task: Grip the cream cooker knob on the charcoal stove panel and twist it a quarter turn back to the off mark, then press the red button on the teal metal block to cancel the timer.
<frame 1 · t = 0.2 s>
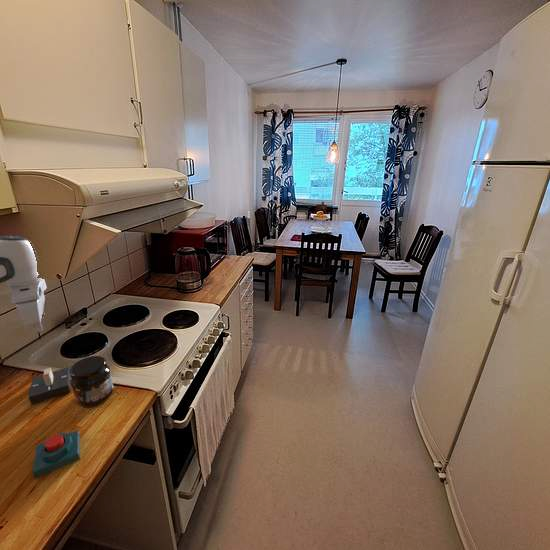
hand: (40, 324, 95), 19 cm above the worktop, tool pointing down, fingers open, 8 cm apart
timer button: (54, 443, 71), point 4 cm above the worktop, slide at 0.1 cm
supplement container: (96, 395, 92), on the worktop
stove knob: (48, 376, 92), point 5 cm above the worktop, hinge at -90.0°
timer block: (59, 455, 73), on the worktop
stove panel: (52, 388, 94), on the worktop
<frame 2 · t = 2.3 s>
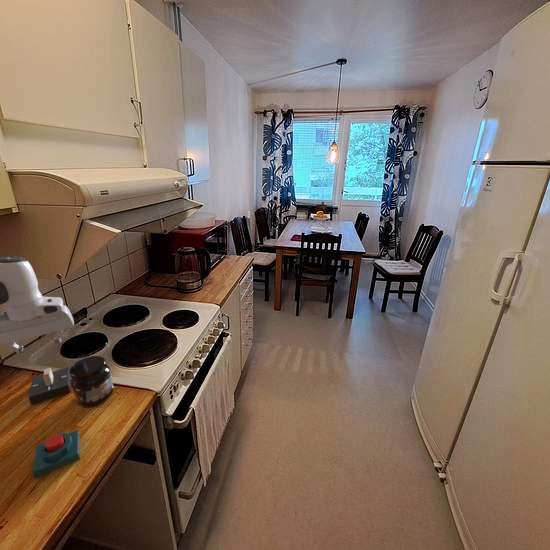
hand: (40, 347, 90), 15 cm above the worktop, tool pointing down, fingers open, 8 cm apart
nothing on the worktop moved.
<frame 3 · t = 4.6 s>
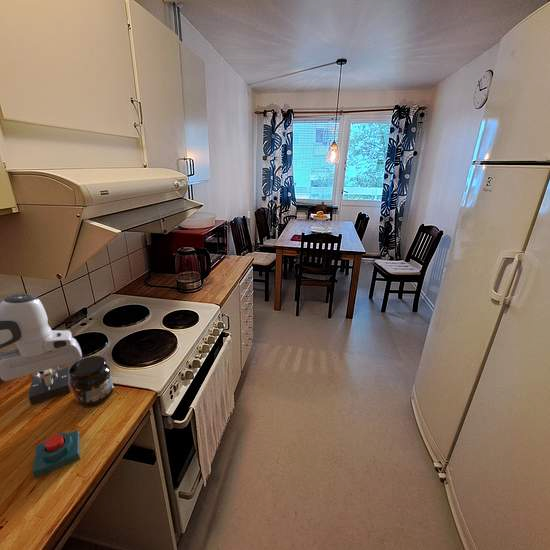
hand: (49, 379, 93), 4 cm above the worktop, tool pointing down, fingers closed on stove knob, 2 cm apart
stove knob: (48, 376, 92), point 5 cm above the worktop, hinge at -90.0°, touching gripper
everything else where it was.
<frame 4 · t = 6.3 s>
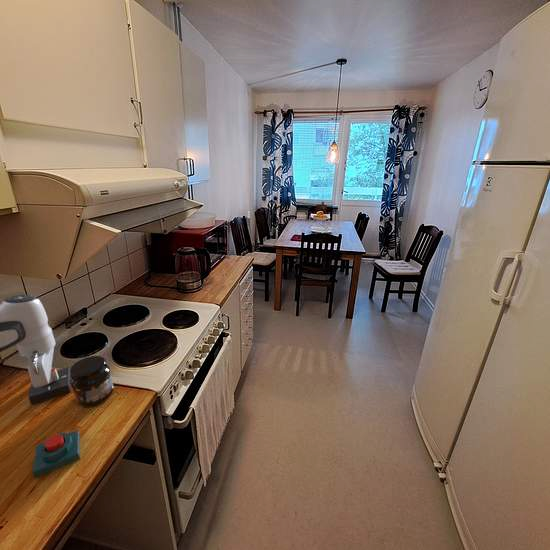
hand: (49, 379, 93), 4 cm above the worktop, tool pointing down, fingers closed on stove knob, 2 cm apart
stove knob: (48, 376, 92), point 5 cm above the worktop, hinge at -0.4°, touching gripper
everything else where it was.
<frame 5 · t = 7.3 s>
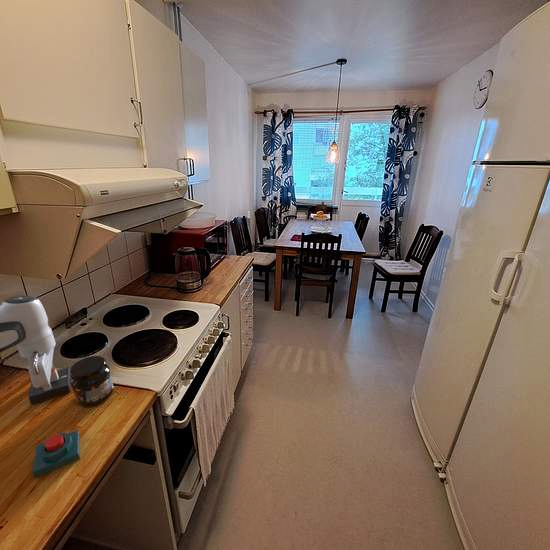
hand: (49, 379, 93), 4 cm above the worktop, tool pointing down, fingers open, 8 cm apart
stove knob: (48, 376, 92), point 5 cm above the worktop, hinge at -0.4°
everything else where it was.
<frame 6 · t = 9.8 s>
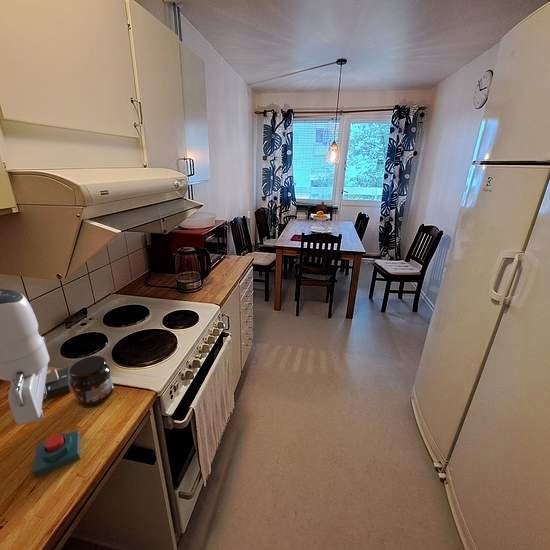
hand: (41, 407, 67), 16 cm above the worktop, tool pointing down, fingers open, 6 cm apart
nothing on the worktop moved.
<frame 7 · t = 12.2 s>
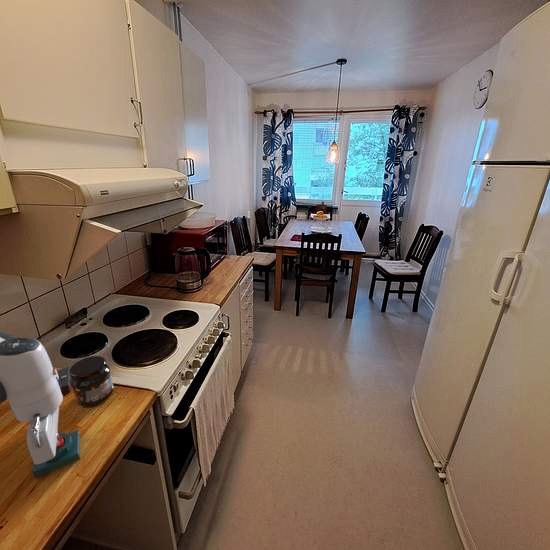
hand: (54, 443, 71), 5 cm above the worktop, tool pointing down, fingers closed, pressing on timer button
timer button: (55, 445, 72), point 4 cm above the worktop, slide at -0.7 cm, touching gripper
everything else where it was.
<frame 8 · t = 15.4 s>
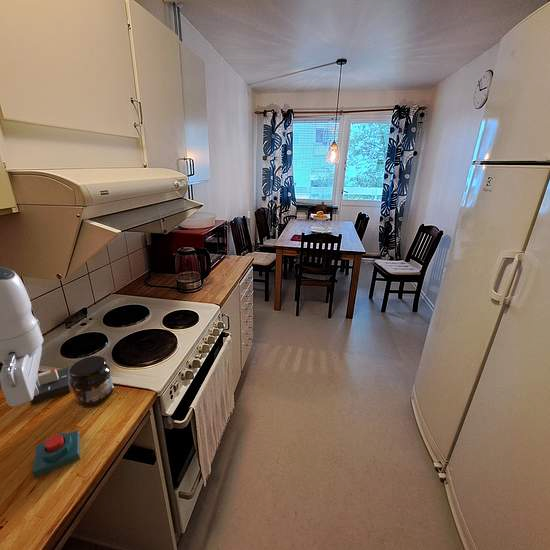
hand: (34, 391, 65), 21 cm above the worktop, tool pointing down, fingers closed
timer button: (54, 443, 71), point 4 cm above the worktop, slide at 0.1 cm
everything else where it was.
at the end: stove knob at +0° (first picture: -90°); timer button pushed in 1.0 cm at the most during the clip, back to where it started at the end; timer button slide at 0.1 cm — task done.
